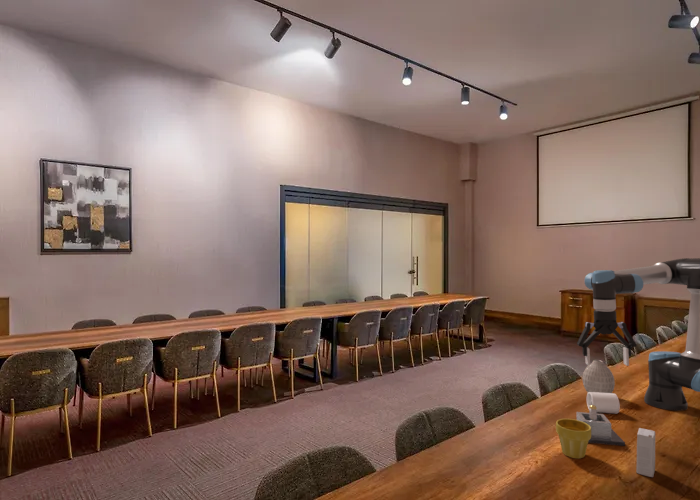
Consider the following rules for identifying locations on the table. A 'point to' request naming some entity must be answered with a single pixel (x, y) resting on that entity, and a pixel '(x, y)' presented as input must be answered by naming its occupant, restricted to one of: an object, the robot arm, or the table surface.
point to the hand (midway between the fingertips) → (606, 364)
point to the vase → (598, 378)
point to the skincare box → (646, 452)
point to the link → (597, 425)
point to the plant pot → (573, 437)
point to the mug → (604, 402)
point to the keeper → (613, 441)
